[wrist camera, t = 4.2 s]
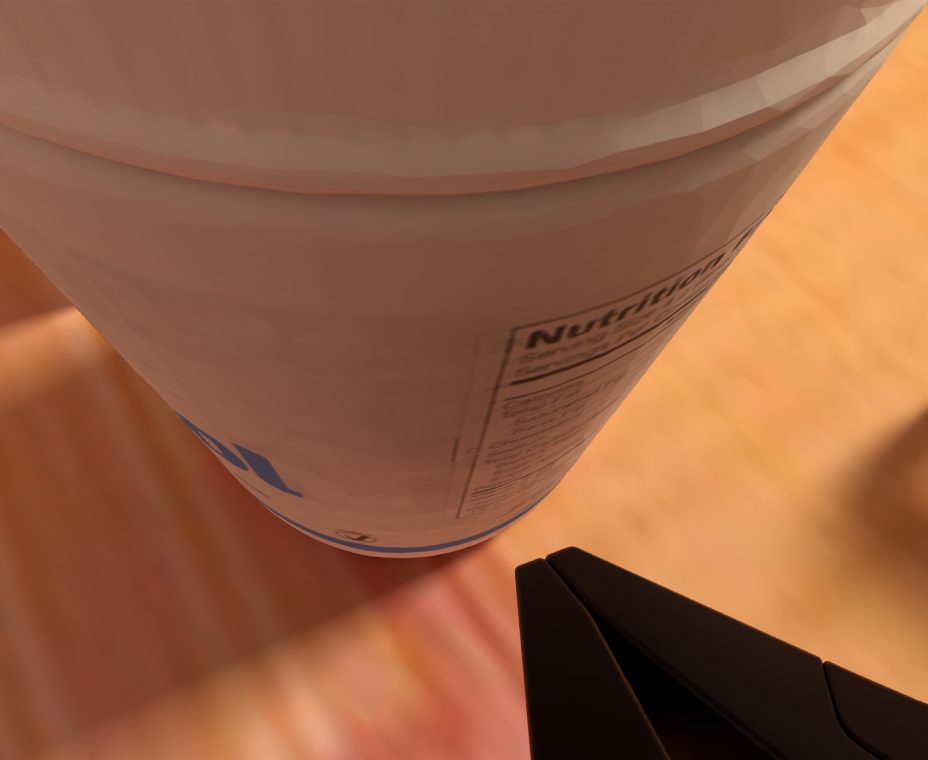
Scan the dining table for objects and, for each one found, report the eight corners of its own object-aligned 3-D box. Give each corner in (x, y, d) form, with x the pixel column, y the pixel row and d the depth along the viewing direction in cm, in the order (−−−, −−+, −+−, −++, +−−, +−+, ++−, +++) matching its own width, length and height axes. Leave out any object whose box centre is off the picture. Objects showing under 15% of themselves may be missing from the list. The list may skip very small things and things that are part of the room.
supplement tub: (141, 383, 17) (-979, -773, 3) (404, 175, 20) (361, -846, 7) (416, 663, 14) (304, 490, 1) (664, 377, 18) (1415, -564, 4)
